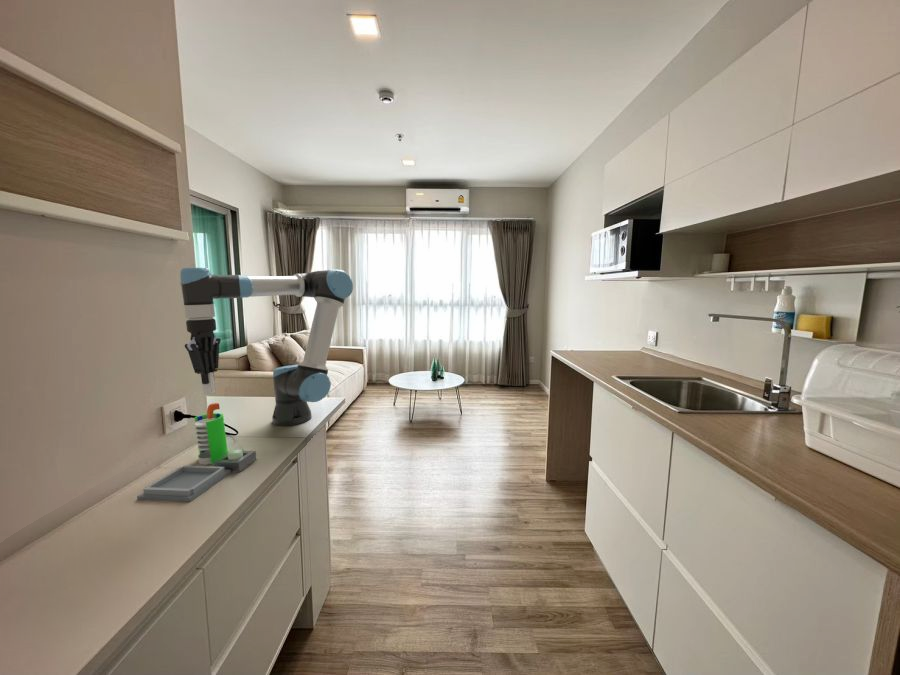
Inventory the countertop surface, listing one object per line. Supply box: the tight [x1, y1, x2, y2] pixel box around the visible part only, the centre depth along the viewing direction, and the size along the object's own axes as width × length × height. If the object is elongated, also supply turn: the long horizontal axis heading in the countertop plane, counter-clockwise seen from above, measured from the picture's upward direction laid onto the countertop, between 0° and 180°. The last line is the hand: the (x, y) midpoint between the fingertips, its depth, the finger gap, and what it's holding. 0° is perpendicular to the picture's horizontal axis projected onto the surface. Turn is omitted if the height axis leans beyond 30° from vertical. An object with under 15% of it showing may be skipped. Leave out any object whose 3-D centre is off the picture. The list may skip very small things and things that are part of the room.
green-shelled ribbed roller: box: [194, 402, 229, 466], centre depth 116 cm, size 9×8×18 cm
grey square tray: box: [136, 465, 232, 503], centre depth 101 cm, size 15×15×2 cm
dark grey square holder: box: [213, 450, 257, 473], centre depth 112 cm, size 8×8×3 cm
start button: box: [228, 448, 244, 460], centre depth 112 cm, size 4×4×4 cm
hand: (209, 392), depth 114 cm, fingers closed
